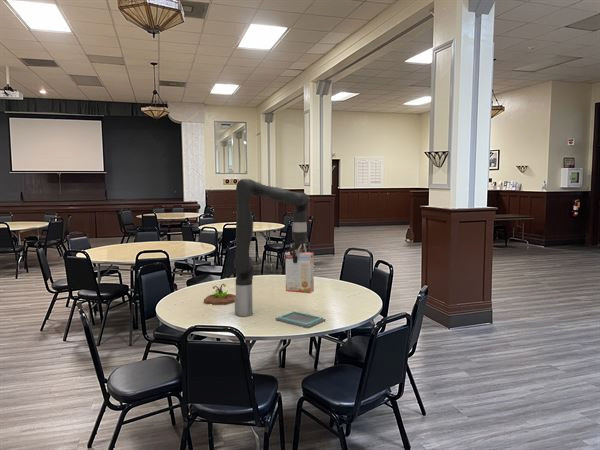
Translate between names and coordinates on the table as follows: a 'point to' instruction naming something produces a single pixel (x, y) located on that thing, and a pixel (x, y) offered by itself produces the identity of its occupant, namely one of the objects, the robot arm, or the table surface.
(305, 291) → the cracker box
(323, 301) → the table surface
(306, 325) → the baseplate
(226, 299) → the plant
